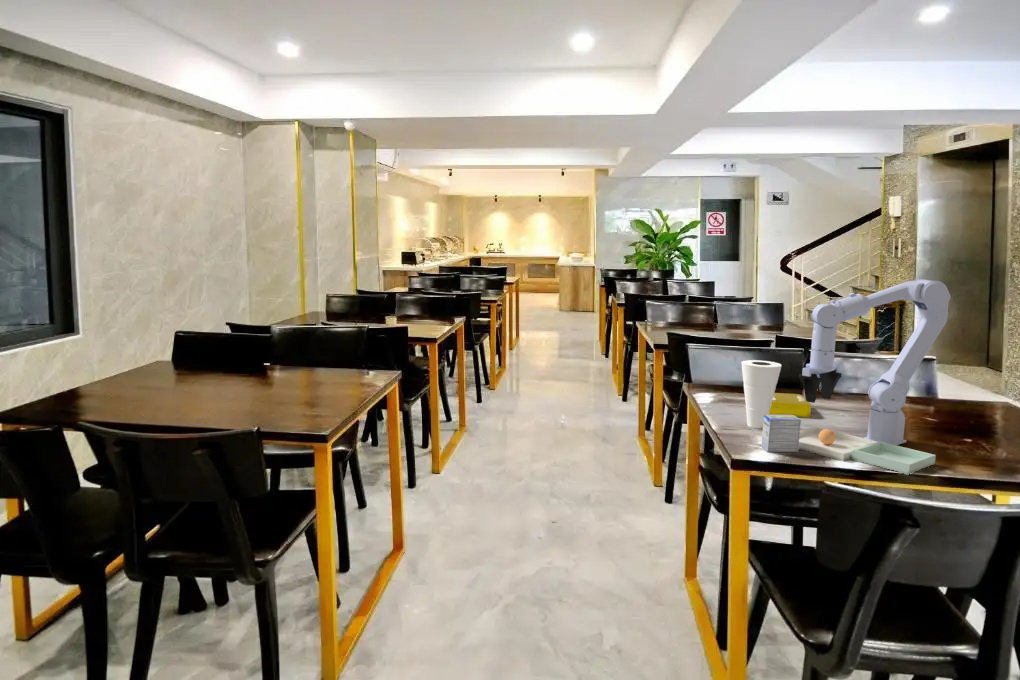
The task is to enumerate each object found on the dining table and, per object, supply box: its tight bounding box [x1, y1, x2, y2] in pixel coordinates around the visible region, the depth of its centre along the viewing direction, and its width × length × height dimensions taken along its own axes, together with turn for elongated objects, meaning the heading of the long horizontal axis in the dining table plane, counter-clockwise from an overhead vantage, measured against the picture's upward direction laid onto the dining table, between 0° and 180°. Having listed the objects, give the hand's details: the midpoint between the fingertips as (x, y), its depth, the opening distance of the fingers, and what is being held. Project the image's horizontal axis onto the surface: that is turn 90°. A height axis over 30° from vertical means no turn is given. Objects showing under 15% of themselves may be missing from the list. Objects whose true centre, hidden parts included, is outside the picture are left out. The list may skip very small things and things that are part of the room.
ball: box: [819, 428, 836, 445], centre depth 190 cm, size 4×4×4 cm
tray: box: [798, 426, 877, 462], centre depth 191 cm, size 18×18×2 cm
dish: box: [851, 442, 937, 476], centre depth 178 cm, size 13×13×2 cm
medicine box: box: [761, 415, 802, 453], centre depth 186 cm, size 8×4×9 cm, turn 92°
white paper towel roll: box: [740, 359, 782, 429], centre depth 207 cm, size 11×11×18 cm
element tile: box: [769, 392, 812, 418], centre depth 228 cm, size 15×15×5 cm
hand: (818, 400), depth 196 cm, fingers open, 7 cm apart
